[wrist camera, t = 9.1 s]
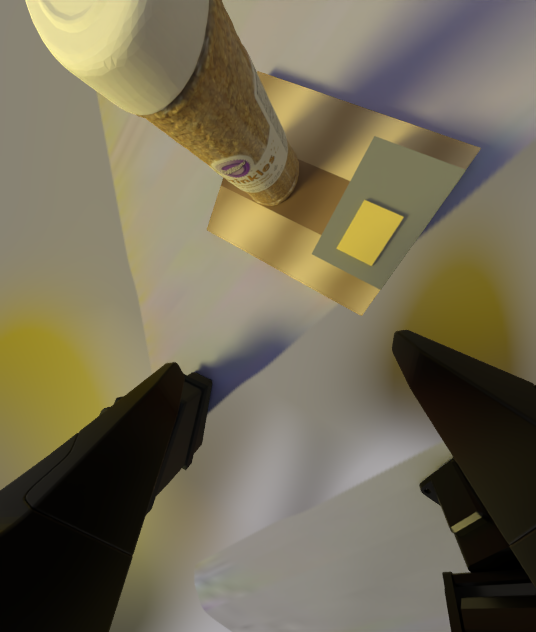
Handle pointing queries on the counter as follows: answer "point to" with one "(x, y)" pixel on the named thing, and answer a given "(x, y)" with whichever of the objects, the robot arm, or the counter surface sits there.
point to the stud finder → (385, 210)
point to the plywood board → (318, 185)
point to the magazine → (184, 430)
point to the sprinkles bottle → (177, 81)
